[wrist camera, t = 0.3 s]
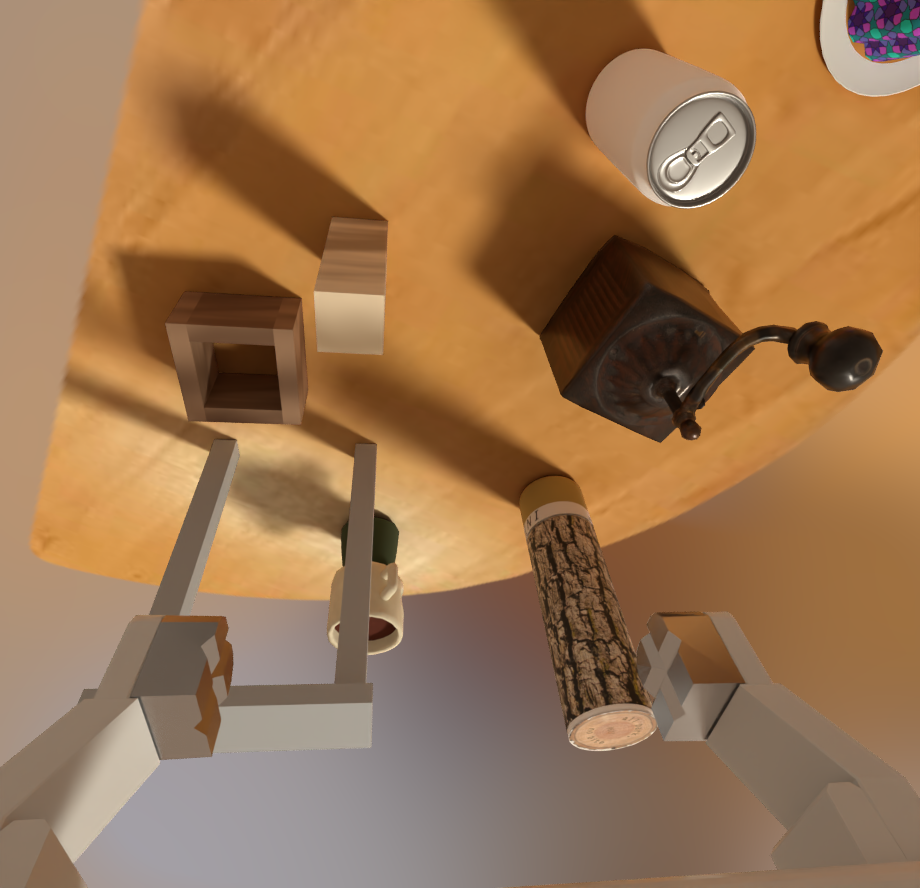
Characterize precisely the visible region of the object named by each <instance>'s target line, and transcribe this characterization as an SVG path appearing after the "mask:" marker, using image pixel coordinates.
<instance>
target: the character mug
mask: <svg viewBox="0 0 920 888" xmlns="http://www.w3.org/2000/svg"><path fill="white" fill-rule="evenodd" d="M348 525H349V521H348V522H347V523H346V524H345V526H344V527H343V528H342V534H341V550H342V563H343V567H342V568H341V569H339V570H338V571H337V572H336V574H335V576H334V579H333V582H332V586H331V595H330V605H329V614H328V623H327V636H328V640H329V642H330V643H331V644H332V645H333V646H334V647H335V648H336V649H338V638H339V627H340V616H341V604H342V593H343V582H344V570H345V559H346V548H347V536H348ZM398 536H399V531H398V529H397V527H396V526H395V524H394V523H392V522H390V521H387V520H385V519H381V518H376V517H374V523H373V545H372V567H371V589H370V611H369V633H368V655H372V654H378V653H382V652H386V651H388V650H390V649H392V648H394V647H396V646H397V645H398V644H399V643H400V641H401V639H402V637H403V618H404V615H403V606H402V601H401V598H402V594H403V582H402V580H401V579H400V577H399V576H398V567H397V565H396V564H395V558H396V553H397V545H398Z"/></svg>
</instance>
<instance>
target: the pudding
mask: <svg viewBox="0 0 920 888" xmlns="http://www.w3.org/2000/svg"><path fill="white" fill-rule="evenodd" d="M847 1H848V0H823V5H822V12H821V18H820V42H821V48H822V54H823V57H824V60H825V62H826V65H827V67H828V70H829V71H830V73H831V74H832V75H833V77H834V78H835V80H836V81H837V82H838V83H840V84H841V85H842V86H843V87H845V88H846V89H847V90H850V91H852V92H854V93H857V94H859V95H865V96H872V97H875V96H888V95H892V94H896V93H900V92H904V91H906V90H909V89H911V88H914V87H916V86H918V85H920V0H853V1H854V3H855V8H854V10H853V12H852V14H851V16H850V19H849V21H848V34H849V35H850V37H851V39H852V41H853V42H856V43H864V44H865V56H866V57H868V58H869V59H871V60H872V61H888V60H893V59H899V58H907V57H911V58H908V59H906V60H903V61H899V62H895V63H887V64H880V63H874V62H871V61H869V60H866V59H864V58H863V57H862V56H861V55H859V54H858V53H857V52H856V51H855V49H854V48H853V46H852V45H851V42H850V40H849V37H848V34H847V28H846V7H847ZM912 56H913V57H912Z"/></svg>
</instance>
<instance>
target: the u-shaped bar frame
mask: <svg viewBox="0 0 920 888" xmlns="http://www.w3.org/2000/svg"><path fill="white" fill-rule="evenodd" d="M376 454H377V444H356V446H355V457H354V468H353V480H352V491H351V502H350V514H349V525H348V536H347V548H346V559H345V570H344V582H343V593H342V604H341V616H340V627H339V638H338V650H337V661H336V673H335V684H301V685H254V686H230V689H229V693H228V697H227V698H226V699H225V700H224V701H223V702H222V703H221V704H220V705H219V711H220V716H221V724H220V728H219V731H218V735H217V739H216V743H215V746H214V750H213V753H229V752H230V753H231V752H259V751H287V750H317V749H345V748H371V742H372V701H373V700H372V699H373V683H366V677H367V675H366V674H367V655H368V633H369V611H370V589H371V567H372V545H373V523H374V501H375V479H376ZM239 457H240V455H239V449H238V444H237V440H219V439H214V442H213V445H212V447H211V450H210V453H209V456H208V458H207V461H206V464H205V466H204V469H203V472H202V474H201V477H200V480H199V482H198V485H197V488H196V490H195V493H194V496H193V498H192V501H191V504H190V506H189V509H188V512H187V514H186V517H185V520H184V523H183V525H182V528H181V531H180V533H179V536H178V539H177V541H176V544H175V547H174V549H173V552H172V555H171V557H170V560H169V563H168V565H167V568H166V571H165V573H164V576H163V579H162V581H161V584H160V587H159V590H158V592H157V595H156V598H155V600H154V603H153V606H152V608H151V611H150V614H149V615H180V616H190V613H191V610H192V607H193V604H194V601H195V597H196V594H197V591H198V588H199V585H200V581H201V578H202V575H203V572H204V569H205V565H206V562H207V559H208V556H209V553H210V549H211V546H212V543H213V540H214V537H215V533H216V530H217V527H218V524H219V521H220V517H221V514H222V511H223V508H224V505H225V501H226V498H227V495H228V492H229V489H230V485H231V482H232V479H233V476H234V473H235V469H236V466H237V463H238V460H239ZM97 690H98V689H84V690H83V692H82V695H81V697H80V699H79V702H78V704H79V703H80V702H81V701H82V700H84V699H93V698H94V696H95V694H96V692H97ZM78 704H77V705H78Z"/></svg>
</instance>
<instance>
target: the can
mask: <svg viewBox="0 0 920 888" xmlns="http://www.w3.org/2000/svg"><path fill="white" fill-rule="evenodd" d="M586 124H587V129H588V132H589V135H590V137H591V139H592V141H593V142H594V144H595V145H596V146H597V147H598V148H599V149H600V150H601V152H602V153H603V154H604V155H605V156H606V157H607V158H608V159H609V160H610V161H611V162H612V163H613V164H614V165H615V166H616V167H617V168H618V169H619V170H620V172H621V173H622V174H623V175H624V176H625V177H626V178H627V179H628V180H629V181H630V182H631V183H632V184H633V185H634V186H635V187H636V188H637V189H638V190H639V191H640V192H641V193H642V194H644V195H645V196H646V197H647V198H649V199H650V200H652V201H654V202H656V203H658V204H661V205H665V206H673V207H676V208H684V209H688V208H696V207H700V206H704V205H706V204H709V203H711V202H713V201H715V200H716V199H718V198H720V197H721V196H722V195H724V194H725V193H726V192H728V191H729V190H730V189H731V188H732V187H733V186H734V185H735V184H736V182H737V181H738V180H739V179H740V177H741V176H742V175H743V173H744V172H745V170H746V168H747V166H748V164H749V162H750V160H751V158H752V155H753V152H754V148H755V142H756V124H755V120H754V116H753V114H752V112H751V110H750V108H749V107H748V105H747V103H746V100H745V98H744V97H743V95H742V94H741V92H740V91H739V90H738V89H737V88H736V87H735V86H734V85H733V84H731V83H730V82H729V81H727V80H725V79H723V78H721V77H719V76H717V75H715V74H713V73H710V72H708V71H706V70H703V69H701V68H699V67H696V66H694V65H691V64H689V63H687V62H684V61H682V60H679V59H677V58H675V57H672V56H670V55H667V54H665V53H662V52H659V51H656V50H652V49H635V50H631V51H628V52H626V53H623V54H621V55H620V56H618V57H616V58H615V59H614V60H612V61H611V62H610V63H609V64H608V65H607V66H606V67H605V68H604V69H603V70H602V71H601V72H600V74H599V75H598V77H597V78H596V80H595V82H594V84H593V86H592V88H591V90H590V93H589V96H588V100H587V105H586Z"/></svg>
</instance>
